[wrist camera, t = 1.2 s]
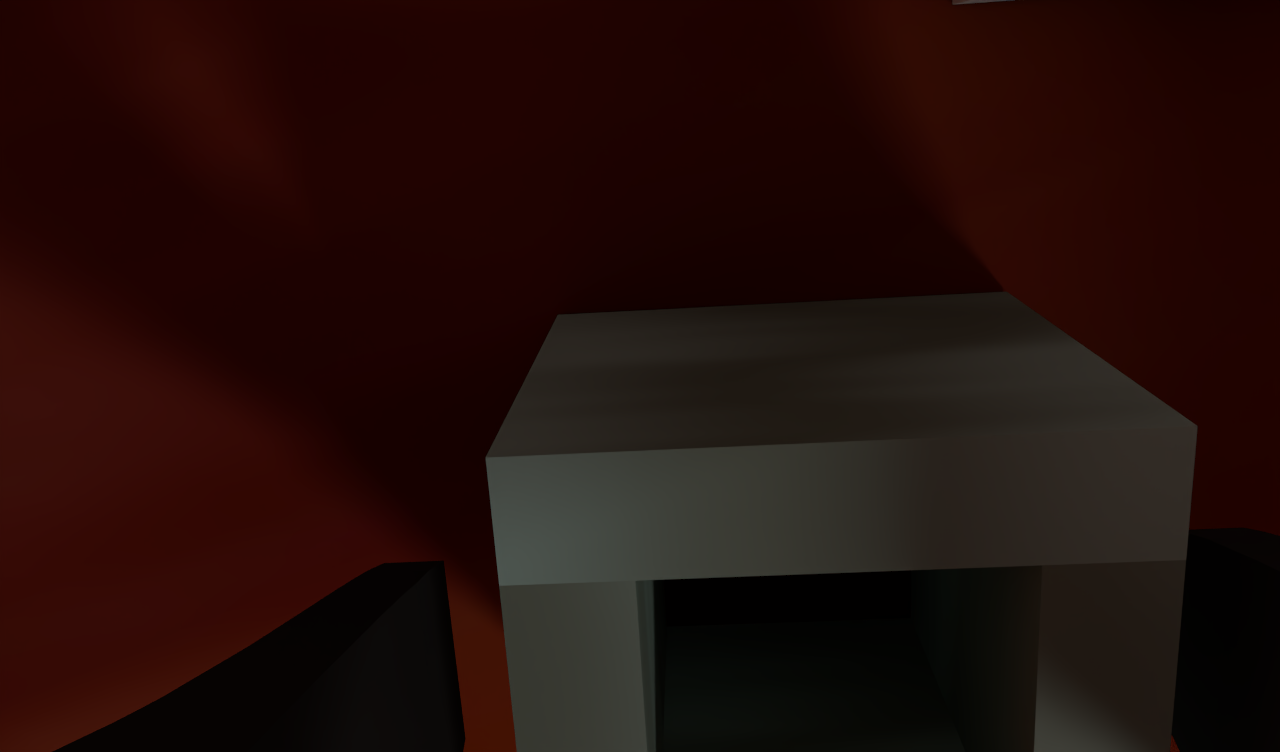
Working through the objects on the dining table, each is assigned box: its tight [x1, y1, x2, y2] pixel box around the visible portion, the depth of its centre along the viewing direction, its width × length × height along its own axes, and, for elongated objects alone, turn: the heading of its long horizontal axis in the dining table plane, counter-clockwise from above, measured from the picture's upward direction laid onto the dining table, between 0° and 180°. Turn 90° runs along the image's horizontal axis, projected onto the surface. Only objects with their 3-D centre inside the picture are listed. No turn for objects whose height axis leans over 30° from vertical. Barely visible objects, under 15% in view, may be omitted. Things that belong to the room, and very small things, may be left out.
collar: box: [486, 292, 1198, 752], centre depth 11 cm, size 5×5×5 cm
